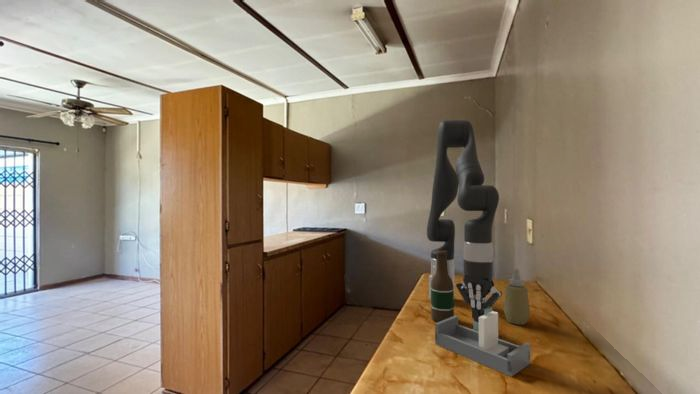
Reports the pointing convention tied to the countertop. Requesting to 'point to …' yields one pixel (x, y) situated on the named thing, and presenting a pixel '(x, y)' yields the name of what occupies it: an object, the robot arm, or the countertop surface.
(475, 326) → the jar
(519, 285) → the squeeze bottle
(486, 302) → the robot arm
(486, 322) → the pusher
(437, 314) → the beer bottle
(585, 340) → the countertop surface
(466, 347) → the gray rectangular tray
